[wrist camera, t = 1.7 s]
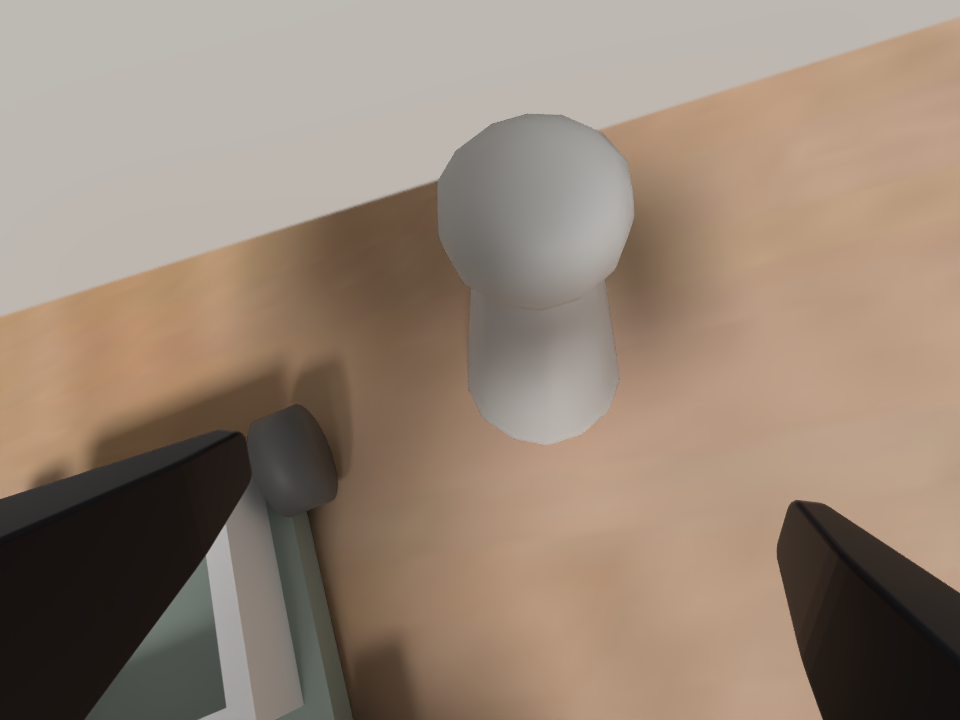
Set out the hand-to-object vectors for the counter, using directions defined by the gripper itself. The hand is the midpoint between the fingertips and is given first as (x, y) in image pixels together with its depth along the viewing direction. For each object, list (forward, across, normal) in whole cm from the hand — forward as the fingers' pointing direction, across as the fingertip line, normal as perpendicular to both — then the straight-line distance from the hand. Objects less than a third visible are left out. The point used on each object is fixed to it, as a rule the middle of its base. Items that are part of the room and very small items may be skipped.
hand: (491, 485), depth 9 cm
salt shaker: (+13, 0, +5) cm, 14 cm away
